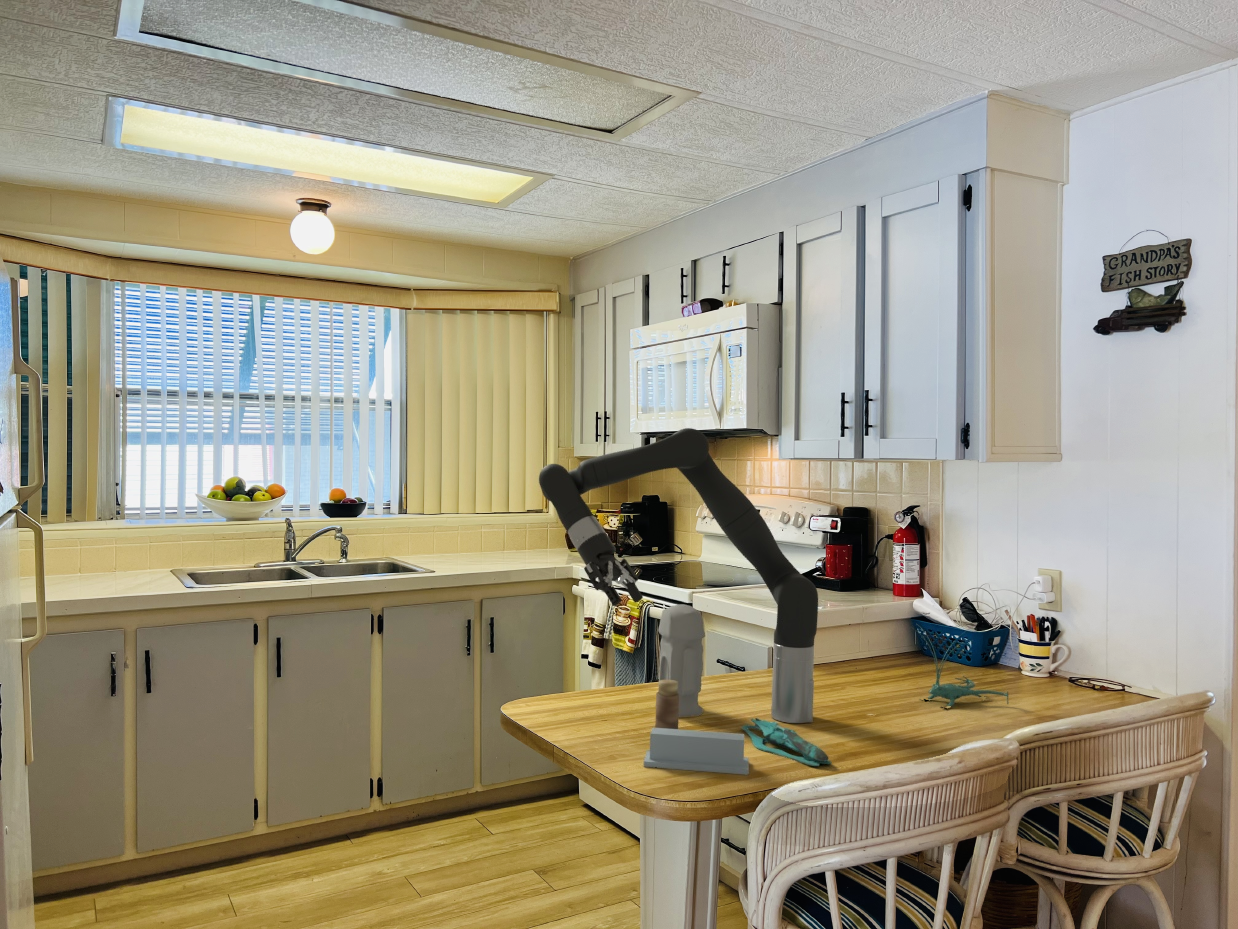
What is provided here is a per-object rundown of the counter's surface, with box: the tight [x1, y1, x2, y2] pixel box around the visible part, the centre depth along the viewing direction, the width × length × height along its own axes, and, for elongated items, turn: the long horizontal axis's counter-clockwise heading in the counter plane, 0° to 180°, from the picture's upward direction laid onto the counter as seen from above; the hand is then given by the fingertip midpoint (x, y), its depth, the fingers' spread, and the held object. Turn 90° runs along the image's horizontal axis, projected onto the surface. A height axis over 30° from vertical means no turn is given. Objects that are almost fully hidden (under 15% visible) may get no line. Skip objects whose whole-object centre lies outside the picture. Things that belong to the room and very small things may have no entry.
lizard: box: [910, 624, 1009, 707], centre depth 228 cm, size 23×25×21 cm
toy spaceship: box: [741, 717, 832, 767], centre depth 189 cm, size 11×27×5 cm, turn 27°
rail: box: [643, 727, 750, 776], centre depth 177 cm, size 20×7×6 cm, turn 82°
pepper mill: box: [654, 680, 680, 729], centre depth 191 cm, size 5×5×12 cm
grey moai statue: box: [658, 604, 706, 718], centre depth 214 cm, size 15×10×25 cm
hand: (628, 602), depth 196 cm, fingers open, 8 cm apart
